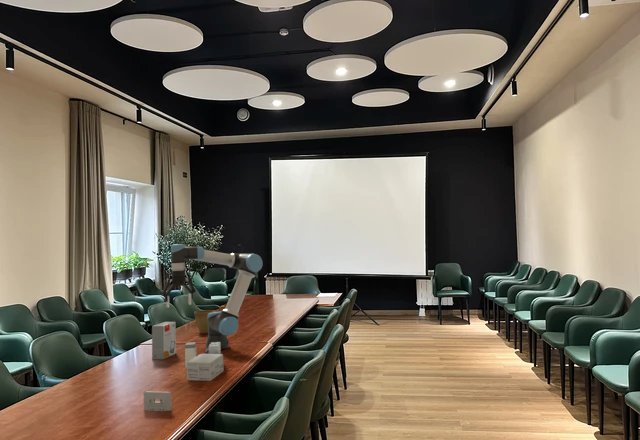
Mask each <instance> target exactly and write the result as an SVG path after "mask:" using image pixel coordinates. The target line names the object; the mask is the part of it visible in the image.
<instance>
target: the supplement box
mask: <svg viewBox="0 0 640 440" xmlns="http://www.w3.org/2000/svg"><path fill="white" fill-rule="evenodd" d="M224 371H225V370H224V354H223V353H221V354H205V353H200V354H198V355H196V357H195V358H193V359H191V360H190V361H188V362H187V369H186V380H187V381H202V382H203V381H207V382H209V381H210V382H211V381H212V380H213V379H215V378H216V377H218V376H219V375H220V374H222V373H223V372H224Z"/></svg>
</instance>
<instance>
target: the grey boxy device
mask: <svg viewBox="0 0 640 440" xmlns="http://www.w3.org/2000/svg"><path fill="white" fill-rule="evenodd" d="M221 350H222V349H221V346H220V342H211V344H210V345H209V354H222V352H221Z"/></svg>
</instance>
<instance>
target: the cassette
mask: <svg viewBox="0 0 640 440" xmlns="http://www.w3.org/2000/svg"><path fill="white" fill-rule="evenodd" d="M156 400H157V401H156ZM158 400H159V401H158ZM143 411H149V412H167V411H168V412H171V411H172V392H171V391H149V390H148V391H147V390H146V391H144V392H143Z"/></svg>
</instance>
